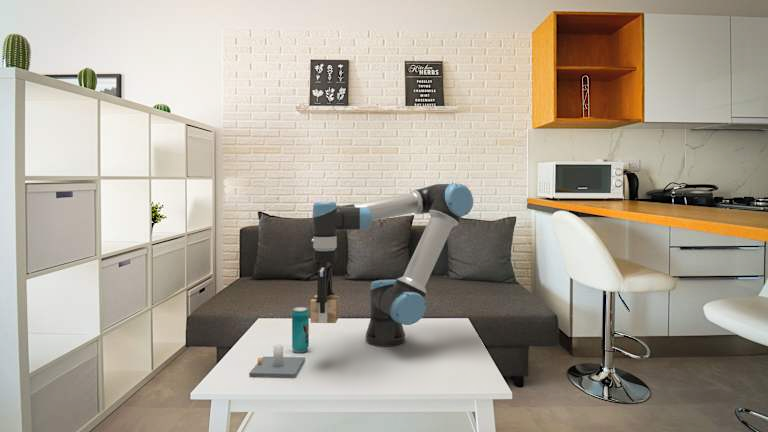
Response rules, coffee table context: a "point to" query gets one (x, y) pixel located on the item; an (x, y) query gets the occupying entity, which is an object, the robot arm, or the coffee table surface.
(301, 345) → the beverage can
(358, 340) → the coffee table surface
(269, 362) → the post base
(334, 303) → the wooden square frame
